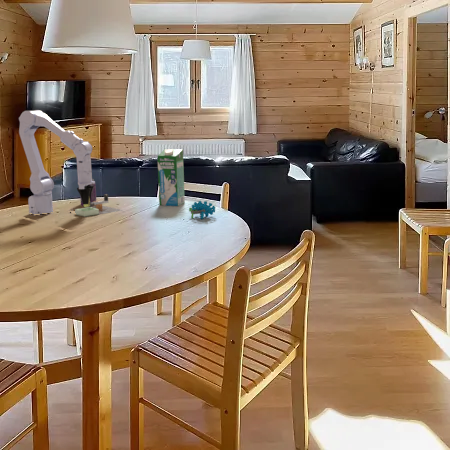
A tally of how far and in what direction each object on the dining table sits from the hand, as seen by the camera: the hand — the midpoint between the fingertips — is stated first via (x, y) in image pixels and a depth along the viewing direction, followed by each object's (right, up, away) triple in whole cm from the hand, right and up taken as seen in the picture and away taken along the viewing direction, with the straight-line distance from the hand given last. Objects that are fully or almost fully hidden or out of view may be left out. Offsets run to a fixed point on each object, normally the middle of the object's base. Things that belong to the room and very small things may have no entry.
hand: (86, 203), depth 257 cm
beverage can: (-5, 0, +24) cm, 25 cm away
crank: (+3, 0, +11) cm, 11 cm away
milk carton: (+34, 0, +26) cm, 42 cm away
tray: (0, -5, +1) cm, 5 cm away
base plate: (+1, -4, +8) cm, 9 cm away
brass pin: (0, -1, 0) cm, 1 cm away
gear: (+49, -6, -5) cm, 49 cm away
